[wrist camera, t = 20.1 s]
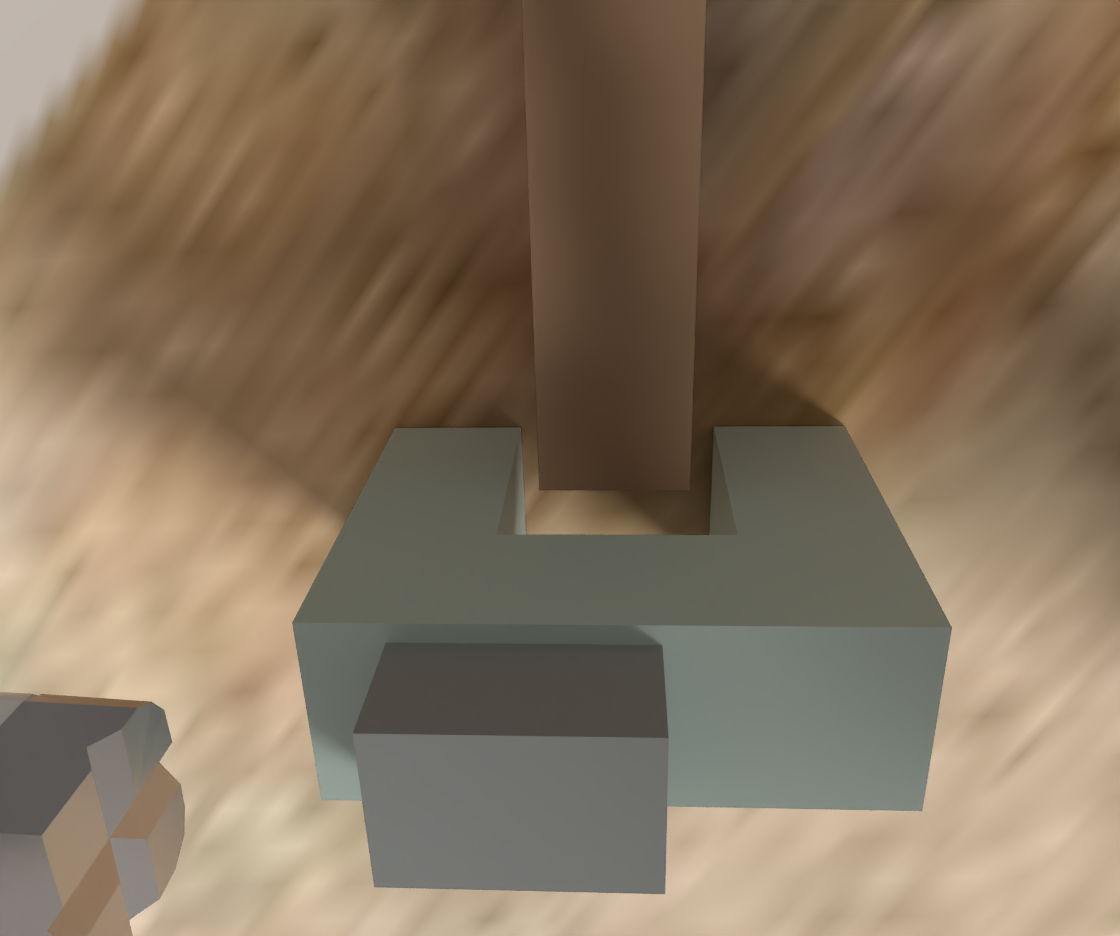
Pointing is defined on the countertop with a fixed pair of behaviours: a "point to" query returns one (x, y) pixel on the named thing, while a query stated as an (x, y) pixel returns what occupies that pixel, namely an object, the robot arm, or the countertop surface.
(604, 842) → the grey-green arch block
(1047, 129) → the countertop surface
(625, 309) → the bar
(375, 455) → the countertop surface
